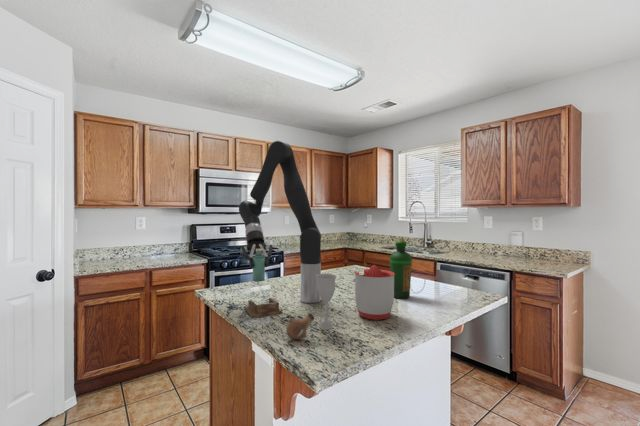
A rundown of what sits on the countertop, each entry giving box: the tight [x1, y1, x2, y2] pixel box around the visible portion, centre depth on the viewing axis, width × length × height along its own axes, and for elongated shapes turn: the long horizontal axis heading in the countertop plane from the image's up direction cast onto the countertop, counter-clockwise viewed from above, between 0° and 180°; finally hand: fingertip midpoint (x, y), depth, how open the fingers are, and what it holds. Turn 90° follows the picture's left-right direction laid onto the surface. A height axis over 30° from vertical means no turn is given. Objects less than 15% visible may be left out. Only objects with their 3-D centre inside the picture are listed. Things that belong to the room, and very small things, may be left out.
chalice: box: [316, 273, 337, 330], centre depth 111 cm, size 7×7×18 cm
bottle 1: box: [252, 249, 266, 283], centre depth 131 cm, size 5×5×13 cm
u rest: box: [243, 297, 283, 319], centre depth 128 cm, size 12×12×4 cm
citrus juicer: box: [352, 264, 395, 321], centre depth 124 cm, size 16×17×20 cm
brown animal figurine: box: [285, 312, 315, 341], centre depth 100 cm, size 9×4×8 cm, turn 103°
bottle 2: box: [389, 237, 413, 300], centre depth 151 cm, size 11×11×28 cm
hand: (259, 266), depth 130 cm, fingers closed on bottle 1, 5 cm apart
